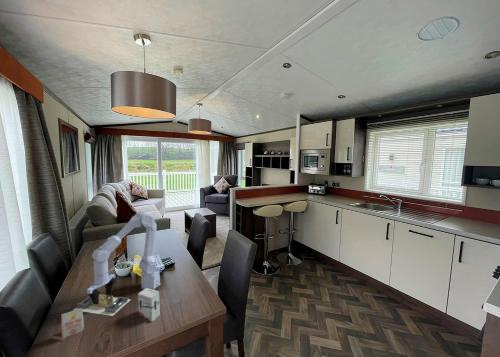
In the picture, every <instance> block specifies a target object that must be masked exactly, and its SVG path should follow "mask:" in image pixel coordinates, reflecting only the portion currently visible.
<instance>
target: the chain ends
mask: <svg viewBox="0 0 500 357" xmlns="http://www.w3.org/2000/svg"><path fill="white" fill-rule="evenodd" d="M117 298H118V299H117V300H115V301H114V302H113V303H112V304H111V305H109V306H108V307H106V308H105V312H111V313H115V312H116V310H117V309H118V308H120V307H121V306H122V305H123V304H124V303H125V302H128V299H129V298H128V297H125V296H118V297H117ZM128 303H129V302H128ZM90 304H91V298H90V296H89V295H88V297H86V298H85V299H83V300H81V301H80V302H77V303H76V307H77V308H82V309H86V308H87V306H89V305H90ZM116 313H117V312H116ZM116 313H115V314H116Z"/></svg>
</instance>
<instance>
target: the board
mask: <svg viewBox="0 0 500 357" xmlns="http://www.w3.org/2000/svg"><path fill="white" fill-rule="evenodd" d="M117 299H118V297H116V296H115V297H114V296H113V302H114V301H115V300H117ZM131 300H132V299H130V298H128V302H125V303H124V304H123V305H122V306H121V307H120V308H118V309H117V310H116V312H115V313H111V312H105V308H104V307H97V306H91V304H90V305H89V306H87V308H86V309H82V311H83V313H91V314H96V315H97V314H98V315H104V316H111V317H113V316H114V315H116V314H117V313H118V312H119V311H120V310H121V309H122V308H123V307H124V306H126V305H127V303H129V302H130V301H131ZM78 309H81V308H77V306H76V307H74V308H73V309H72V311H75V310H78Z"/></svg>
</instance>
